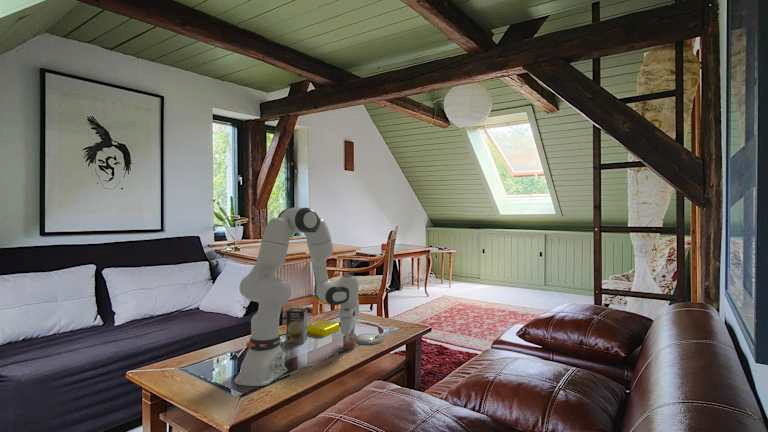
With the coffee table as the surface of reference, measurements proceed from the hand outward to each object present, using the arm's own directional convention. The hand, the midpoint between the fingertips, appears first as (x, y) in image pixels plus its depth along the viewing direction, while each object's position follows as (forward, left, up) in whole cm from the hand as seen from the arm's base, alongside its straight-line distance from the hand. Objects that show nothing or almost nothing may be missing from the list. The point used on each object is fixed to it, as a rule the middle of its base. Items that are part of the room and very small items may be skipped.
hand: (350, 337), depth 202 cm
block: (-1, 0, -5) cm, 5 cm away
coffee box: (+3, +28, -5) cm, 29 cm away
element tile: (+21, +21, -5) cm, 31 cm away
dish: (+11, -7, -5) cm, 14 cm away
